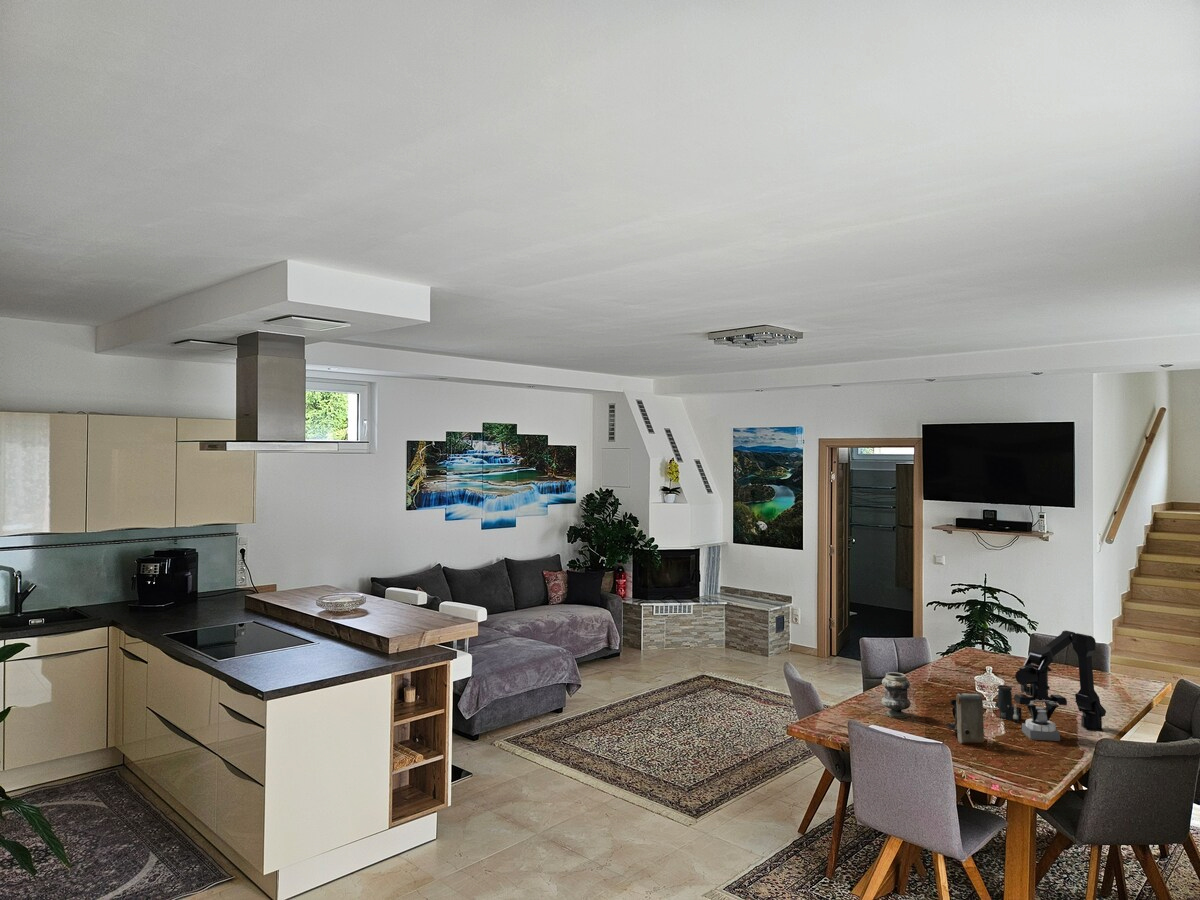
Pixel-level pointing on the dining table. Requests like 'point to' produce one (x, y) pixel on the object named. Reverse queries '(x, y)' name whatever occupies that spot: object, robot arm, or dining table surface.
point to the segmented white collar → (1040, 731)
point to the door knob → (1041, 716)
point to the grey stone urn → (896, 694)
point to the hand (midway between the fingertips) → (1040, 720)
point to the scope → (1007, 704)
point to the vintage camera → (968, 718)
